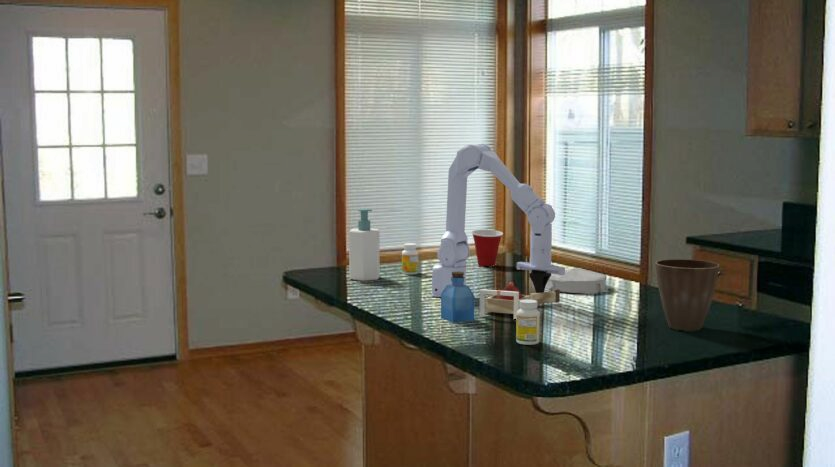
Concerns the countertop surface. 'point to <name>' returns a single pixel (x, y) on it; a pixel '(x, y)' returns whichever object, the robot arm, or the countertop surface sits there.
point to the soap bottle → (364, 250)
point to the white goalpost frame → (498, 292)
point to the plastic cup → (486, 246)
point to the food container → (578, 282)
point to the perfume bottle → (457, 300)
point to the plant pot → (686, 291)
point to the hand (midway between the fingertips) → (539, 298)
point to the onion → (510, 288)
